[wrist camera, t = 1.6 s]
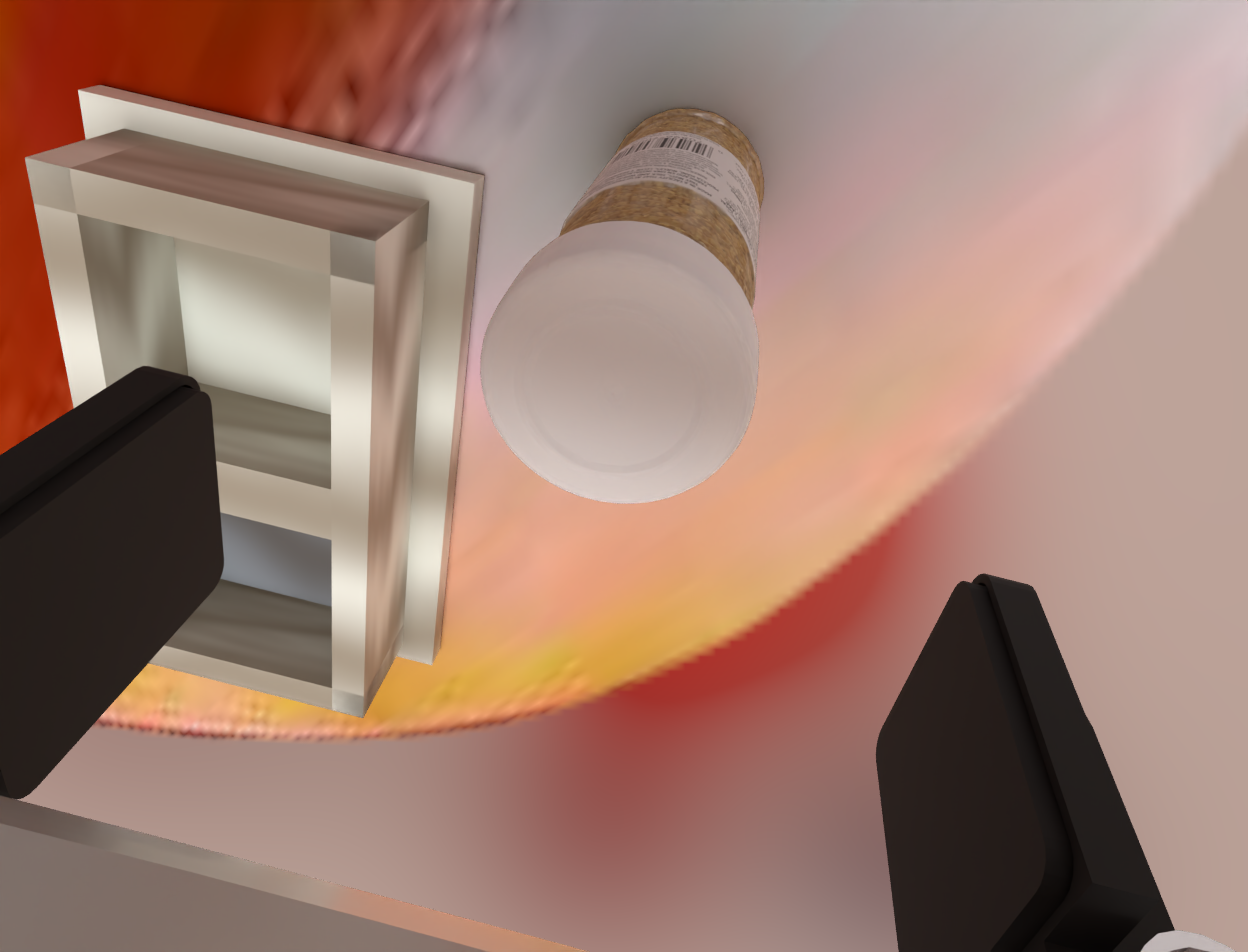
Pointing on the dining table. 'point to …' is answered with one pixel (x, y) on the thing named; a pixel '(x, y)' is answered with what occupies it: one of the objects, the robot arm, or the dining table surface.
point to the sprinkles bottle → (637, 320)
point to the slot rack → (281, 368)
